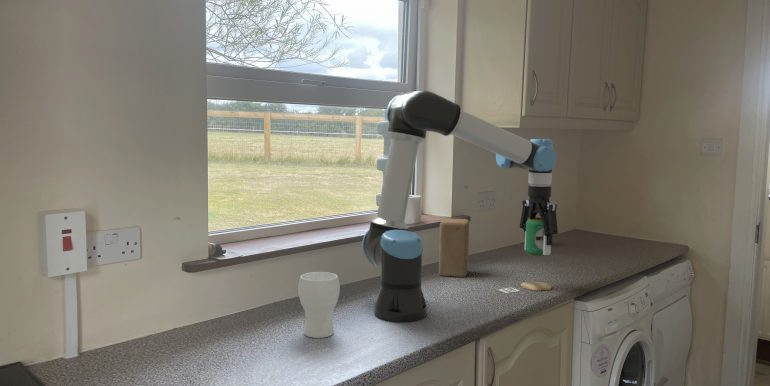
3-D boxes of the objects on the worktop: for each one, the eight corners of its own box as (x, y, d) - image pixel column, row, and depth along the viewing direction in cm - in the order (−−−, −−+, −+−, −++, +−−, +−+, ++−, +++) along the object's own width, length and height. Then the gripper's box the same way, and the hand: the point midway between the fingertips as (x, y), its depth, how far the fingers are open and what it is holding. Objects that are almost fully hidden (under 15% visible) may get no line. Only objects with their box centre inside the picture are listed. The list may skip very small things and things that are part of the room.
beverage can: (531, 256, 194) (532, 220, 192) (521, 251, 201) (522, 217, 200) (553, 256, 195) (555, 220, 194) (542, 251, 203) (544, 216, 202)
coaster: (535, 292, 193) (535, 290, 193) (514, 285, 201) (514, 283, 201) (557, 288, 198) (557, 287, 198) (536, 282, 206) (536, 280, 206)
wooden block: (466, 277, 211) (467, 222, 209) (438, 276, 213) (439, 221, 211) (467, 271, 221) (469, 218, 219) (441, 269, 223) (442, 217, 221)
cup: (333, 341, 146) (333, 282, 144) (292, 338, 148) (292, 280, 146) (343, 327, 156) (344, 272, 155) (305, 324, 158) (305, 270, 156)
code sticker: (506, 293, 192) (506, 292, 192) (497, 289, 195) (497, 289, 195) (520, 290, 195) (520, 290, 195) (511, 287, 198) (511, 287, 198)
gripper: (571, 187, 189) (568, 257, 191) (526, 182, 207) (524, 245, 209) (554, 188, 185) (551, 259, 187) (510, 183, 203) (508, 247, 205)
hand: (537, 252), depth 198 cm, fingers closed on beverage can, 8 cm apart
